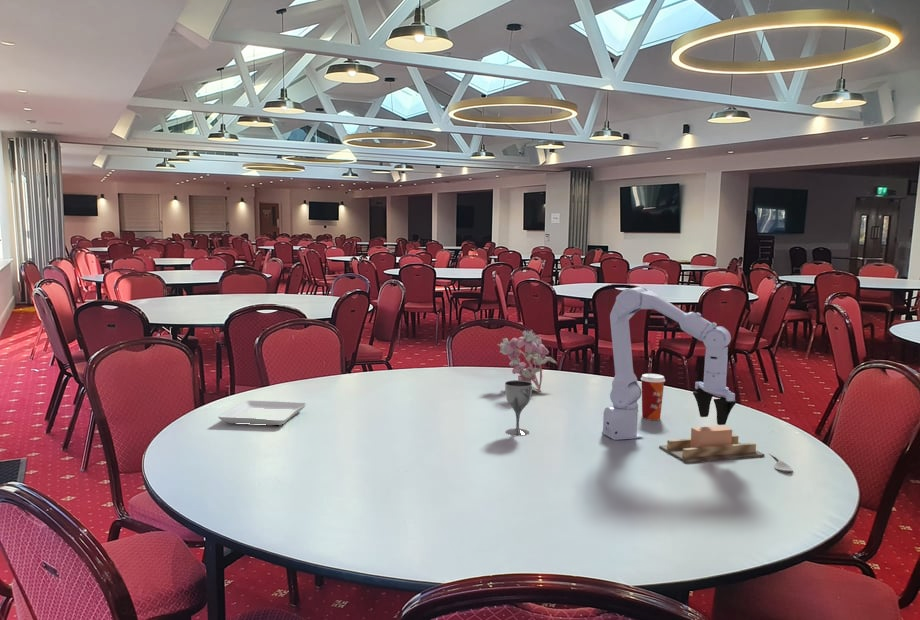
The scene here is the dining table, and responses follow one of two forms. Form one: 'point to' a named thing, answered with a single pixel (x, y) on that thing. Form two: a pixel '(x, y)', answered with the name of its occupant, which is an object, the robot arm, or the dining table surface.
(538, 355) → the flower
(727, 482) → the dining table surface
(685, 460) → the wooden stand
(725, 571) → the dining table surface
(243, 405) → the salad plate
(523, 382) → the wine glass
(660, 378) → the paper cup
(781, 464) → the spoon
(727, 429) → the block
